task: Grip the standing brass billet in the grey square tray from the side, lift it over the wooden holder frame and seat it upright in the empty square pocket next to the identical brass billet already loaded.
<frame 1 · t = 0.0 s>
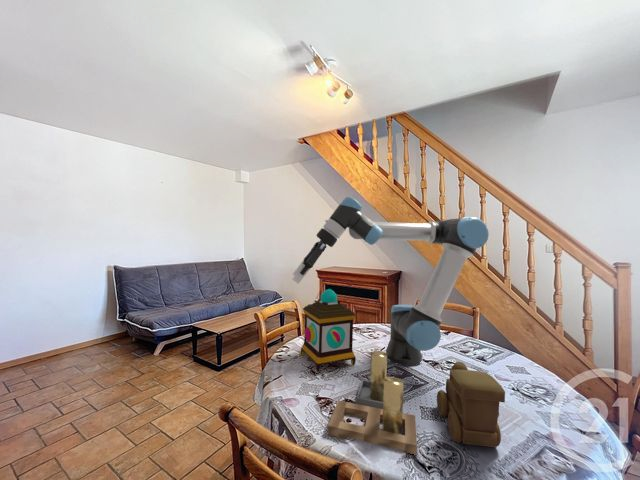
hand: (295, 278, 104), 36 cm above the table, tool tilted 35°, fingers open, 13 cm apart
wooden holder frame: (372, 429, 76), on the table
wooden toy train: (465, 430, 77), on the table
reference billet: (392, 434, 74), resting in wooden holder frame
grey square tray: (377, 399, 90), on the table
billet: (377, 397, 90), point 1 cm above the table, touching grey square tray
decorative lantern: (327, 360, 118), on the table
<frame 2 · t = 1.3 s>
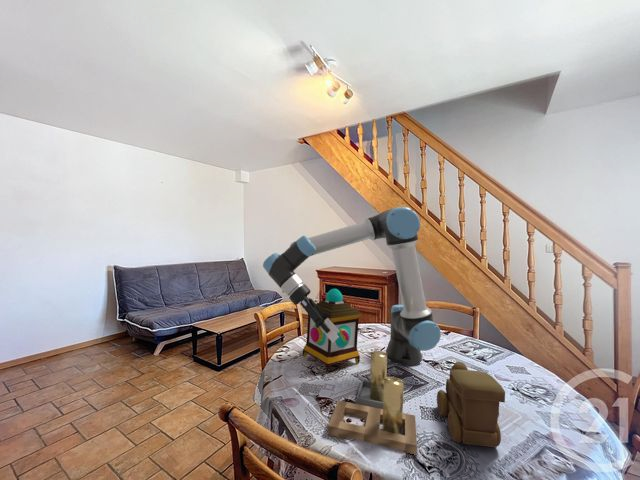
hand: (336, 336, 97), 17 cm above the table, tool tilted 45°, fingers open, 13 cm apart
decorative lantern: (330, 360, 117), on the table, touching gripper, hand
everything else where it was.
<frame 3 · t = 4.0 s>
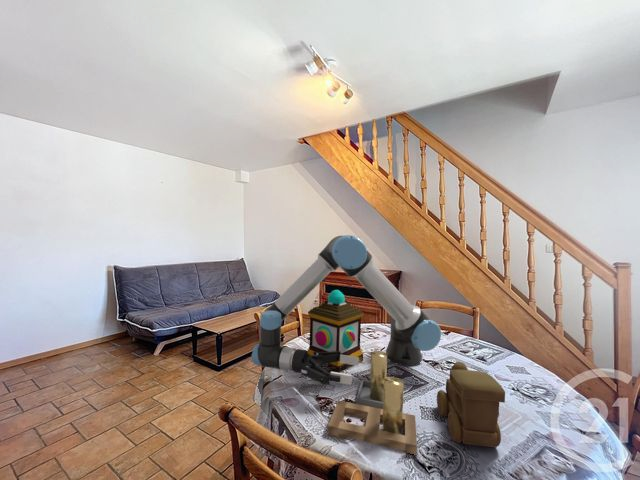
hand: (355, 370, 92), 8 cm above the table, tool horizontal, fingers open, 13 cm apart
decorative lantern: (334, 362, 117), on the table
everything else where it was.
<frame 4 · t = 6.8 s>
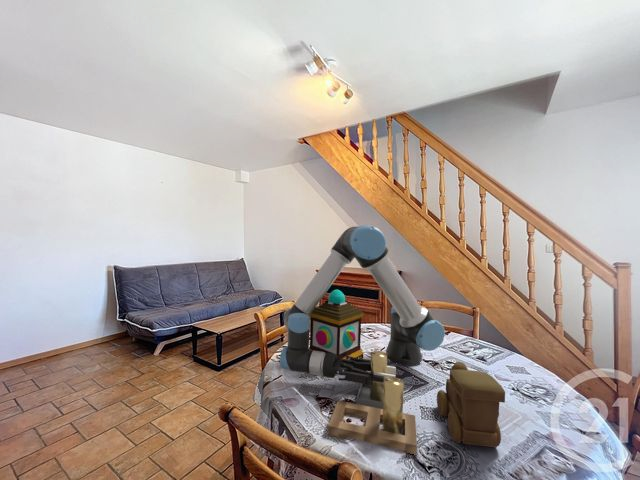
hand: (395, 375, 89), 9 cm above the table, tool horizontal, fingers closed on billet, 5 cm apart
billet: (377, 397, 90), point 1 cm above the table, touching gripper, grey square tray
decorative lantern: (334, 362, 117), on the table, touching arm
everything else where it was.
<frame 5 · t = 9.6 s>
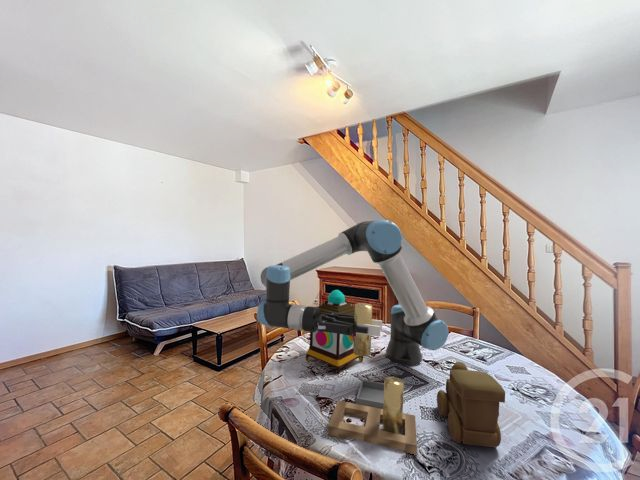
hand: (381, 328, 81), 26 cm above the table, tool horizontal, fingers closed on billet, 5 cm apart
billet: (361, 352, 82), point 18 cm above the table, touching gripper
decorative lantern: (334, 362, 117), on the table
everything else where it was.
when the fingers open (9 cm above the table, at t = 12.5 s): billet drops 1 cm, resting in wooden holder frame.
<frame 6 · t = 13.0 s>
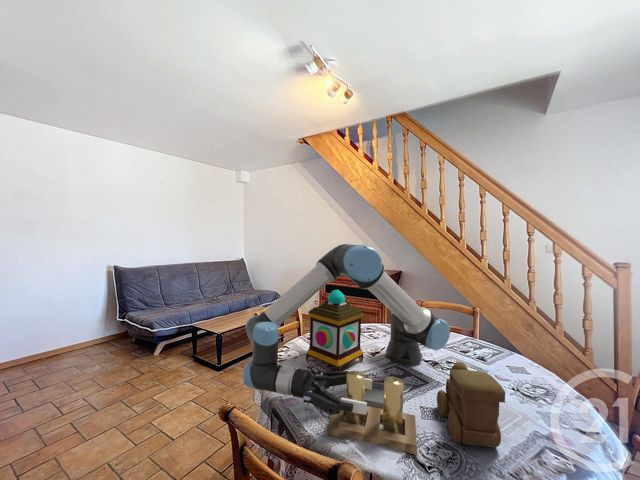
hand: (369, 395, 76), 9 cm above the table, tool horizontal, fingers open, 11 cm apart
billet: (354, 425, 77), resting in wooden holder frame
everything else where it was.
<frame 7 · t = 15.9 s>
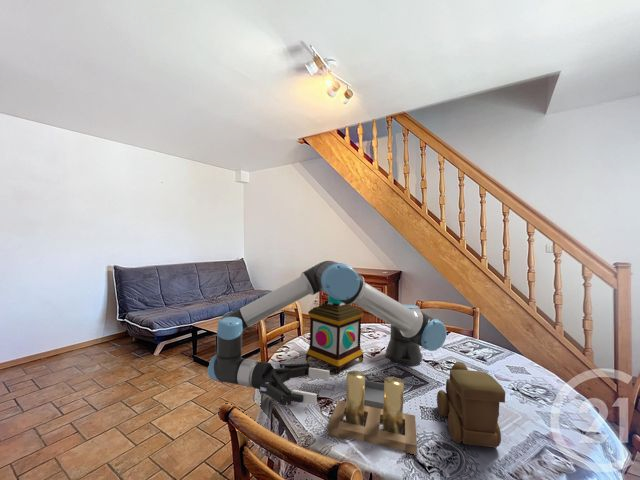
hand: (323, 386, 80), 9 cm above the table, tool horizontal, fingers open, 13 cm apart
nothing on the table moved.
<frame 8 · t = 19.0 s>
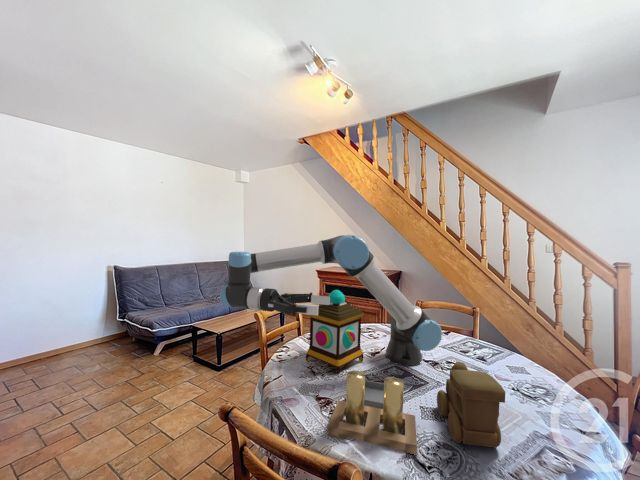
hand: (324, 305, 89), 30 cm above the table, tool horizontal, fingers open, 13 cm apart
nothing on the table moved.
at the end: billet 0.0 cm from the target spot, resting in wooden holder frame; billet tilted 0°; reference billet moved 0.0 cm from its start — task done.
